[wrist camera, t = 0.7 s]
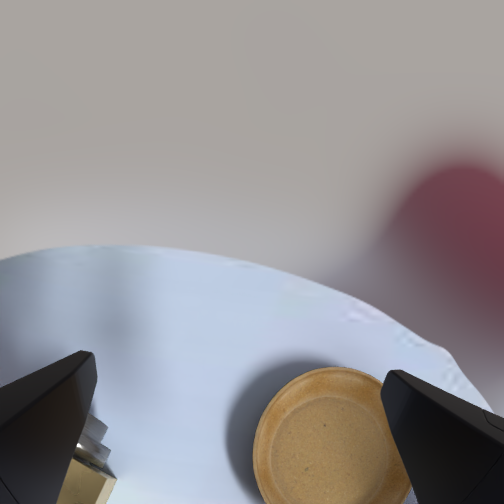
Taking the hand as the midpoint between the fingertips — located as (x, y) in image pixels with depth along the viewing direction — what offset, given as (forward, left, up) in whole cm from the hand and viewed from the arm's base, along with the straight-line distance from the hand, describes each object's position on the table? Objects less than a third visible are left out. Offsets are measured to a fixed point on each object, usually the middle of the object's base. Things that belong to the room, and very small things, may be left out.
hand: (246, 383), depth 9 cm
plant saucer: (+3, -11, -16) cm, 19 cm away
